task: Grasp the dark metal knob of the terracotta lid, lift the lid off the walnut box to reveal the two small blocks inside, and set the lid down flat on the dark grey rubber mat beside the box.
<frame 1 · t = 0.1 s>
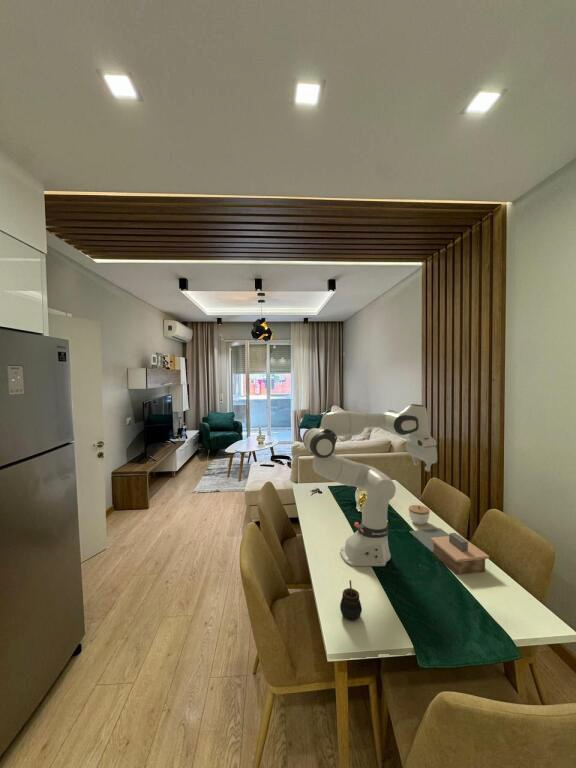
hand: (421, 467, 153), 39 cm above the table, tool pointing down, fingers open, 8 cm apart
mate gourd: (350, 616, 113), on the table
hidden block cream: (458, 565, 140), point 1 cm above the table, touching walnut box
lidded jar: (418, 522, 182), on the table
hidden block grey: (457, 555, 148), point 1 cm above the table, touching walnut box
walnut box: (458, 562, 144), on the table
rubber mat: (436, 539, 163), on the table
lid: (458, 548, 144), point 6 cm above the table, touching walnut box
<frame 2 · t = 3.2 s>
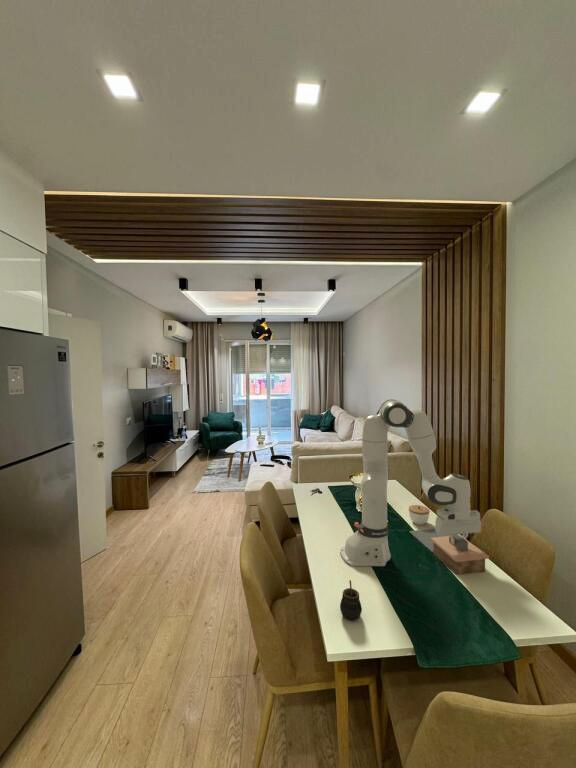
hand: (458, 542, 143), 9 cm above the table, tool pointing down, fingers closed on lid, 3 cm apart
lid: (458, 548, 144), point 6 cm above the table, touching gripper, walnut box
everything else where it was.
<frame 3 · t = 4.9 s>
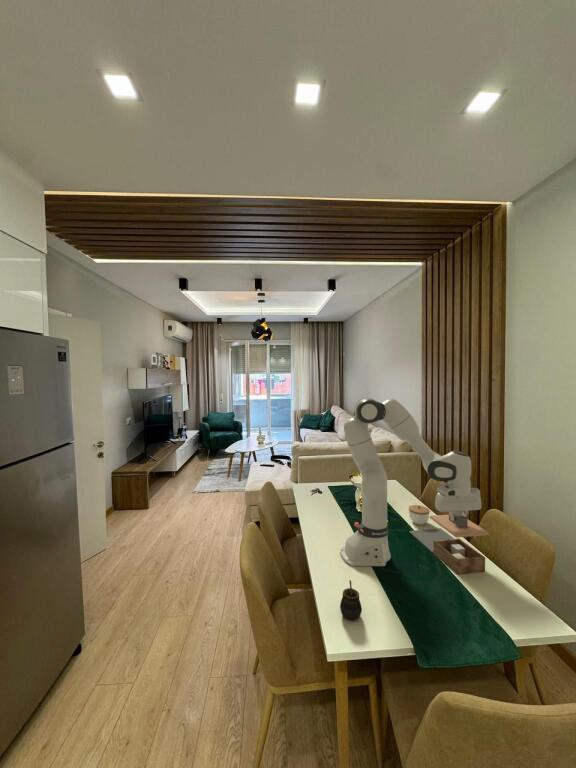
hand: (457, 520, 143), 19 cm above the table, tool pointing down, fingers closed on lid, 3 cm apart
lid: (457, 526, 143), point 16 cm above the table, touching gripper
everything else where it was.
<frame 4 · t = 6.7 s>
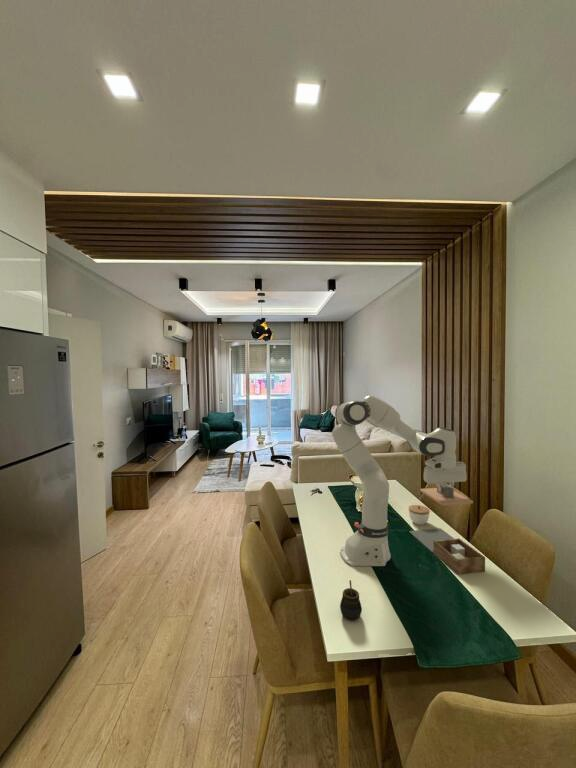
hand: (445, 491, 155), 27 cm above the table, tool pointing down, fingers closed on lid, 3 cm apart
lid: (445, 496, 155), point 24 cm above the table, touching gripper
everything else where it was.
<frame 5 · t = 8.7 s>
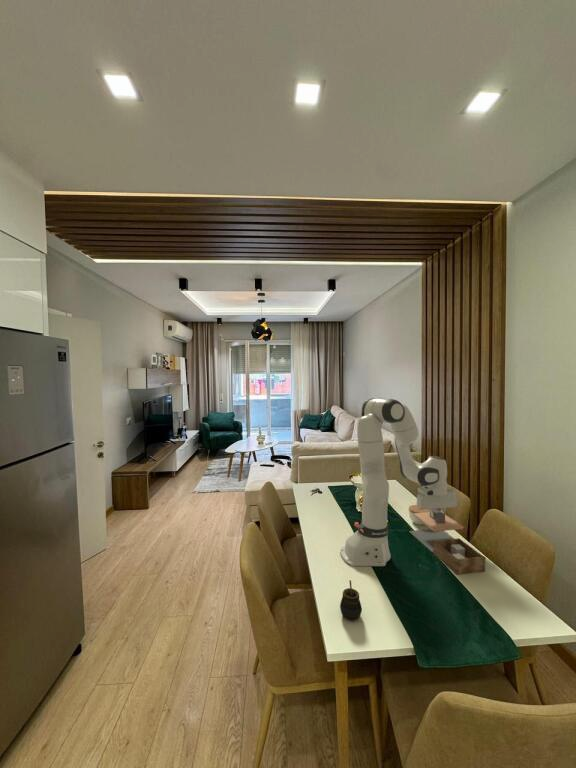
hand: (437, 516, 163), 12 cm above the table, tool pointing down, fingers closed on lid, 3 cm apart
lid: (437, 521, 163), point 9 cm above the table, touching gripper
everything else where it was.
when the fingers open (5 cm above the table, at t = 10.5 s): lid drops 2 cm, resting on rubber mat.
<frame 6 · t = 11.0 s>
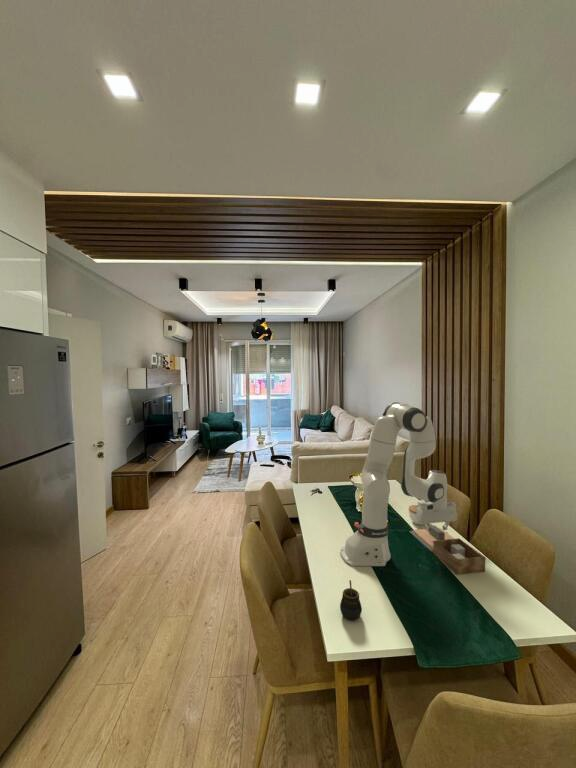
hand: (436, 530, 163), 5 cm above the table, tool pointing down, fingers open, 8 cm apart
lid: (436, 539, 163), resting on rubber mat
everything else where it was.
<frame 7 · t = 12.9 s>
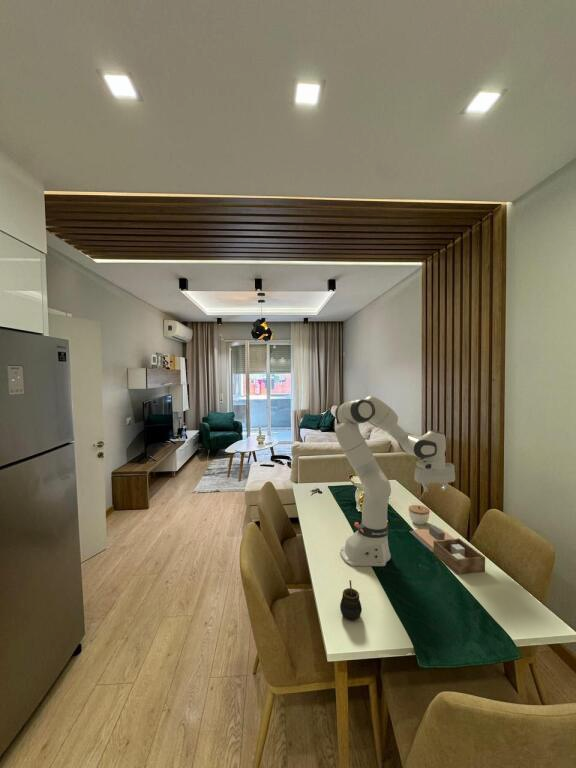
hand: (434, 491, 163), 24 cm above the table, tool pointing down, fingers open, 8 cm apart
nothing on the table moved.
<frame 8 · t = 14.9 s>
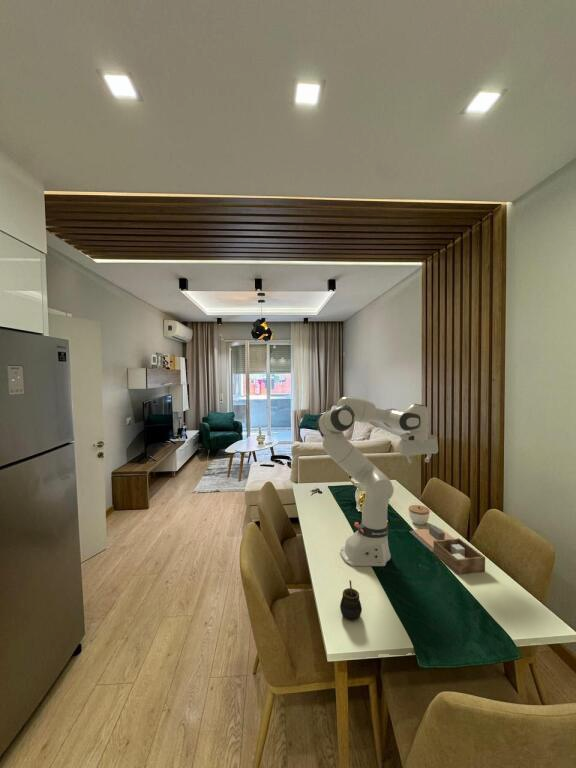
hand: (418, 462, 168), 37 cm above the table, tool pointing down, fingers open, 8 cm apart
nothing on the table moved.
at the end: lid inside the target area (0.1 cm from its centre), resting on rubber mat; lid tilted 0°; the gripper is holding nothing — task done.
